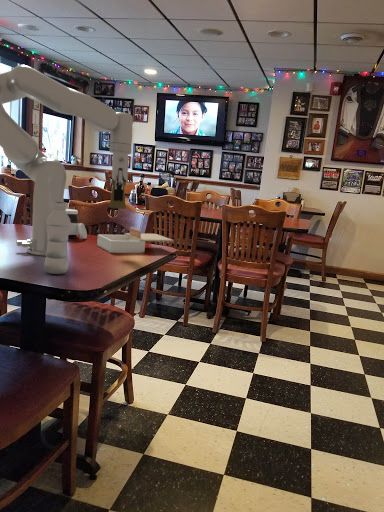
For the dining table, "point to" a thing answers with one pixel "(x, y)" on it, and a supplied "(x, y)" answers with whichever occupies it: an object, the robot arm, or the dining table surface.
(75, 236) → the spread jar
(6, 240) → the dining table surface
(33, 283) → the dining table surface
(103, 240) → the mailer box
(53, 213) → the plastic bottle
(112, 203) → the olive pepper mill
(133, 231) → the lid
